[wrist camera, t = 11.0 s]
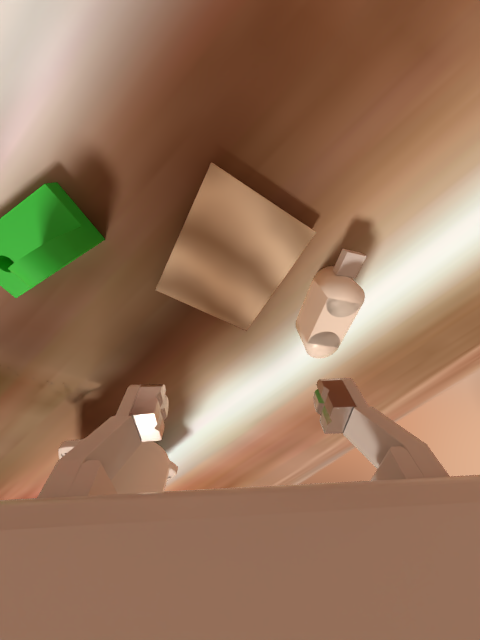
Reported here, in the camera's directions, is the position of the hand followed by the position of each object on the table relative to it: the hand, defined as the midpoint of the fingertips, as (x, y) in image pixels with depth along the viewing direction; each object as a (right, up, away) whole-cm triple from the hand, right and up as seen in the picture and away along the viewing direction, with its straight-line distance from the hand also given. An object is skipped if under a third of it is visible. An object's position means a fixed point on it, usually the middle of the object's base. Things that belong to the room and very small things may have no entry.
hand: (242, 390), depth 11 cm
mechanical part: (-21, +12, +14) cm, 28 cm away
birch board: (-1, +10, +16) cm, 19 cm away
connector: (+10, +7, +19) cm, 23 cm away
